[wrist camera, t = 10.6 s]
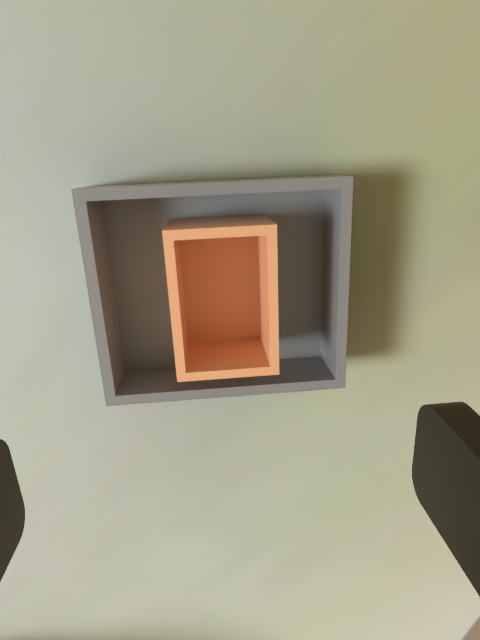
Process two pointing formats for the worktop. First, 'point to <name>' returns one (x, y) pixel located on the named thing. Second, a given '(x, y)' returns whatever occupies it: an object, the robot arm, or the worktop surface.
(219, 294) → the small crate
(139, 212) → the large crate
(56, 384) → the worktop surface
